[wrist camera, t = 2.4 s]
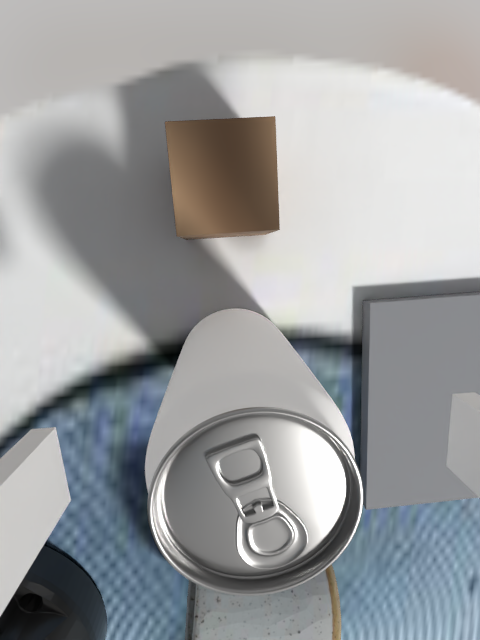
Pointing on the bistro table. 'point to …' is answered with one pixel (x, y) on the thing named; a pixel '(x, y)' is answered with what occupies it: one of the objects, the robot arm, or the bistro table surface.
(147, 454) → the can
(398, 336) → the mat
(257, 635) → the ceramic mug
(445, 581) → the bistro table surface
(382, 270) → the bistro table surface
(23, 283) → the bistro table surface
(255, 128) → the walnut block
